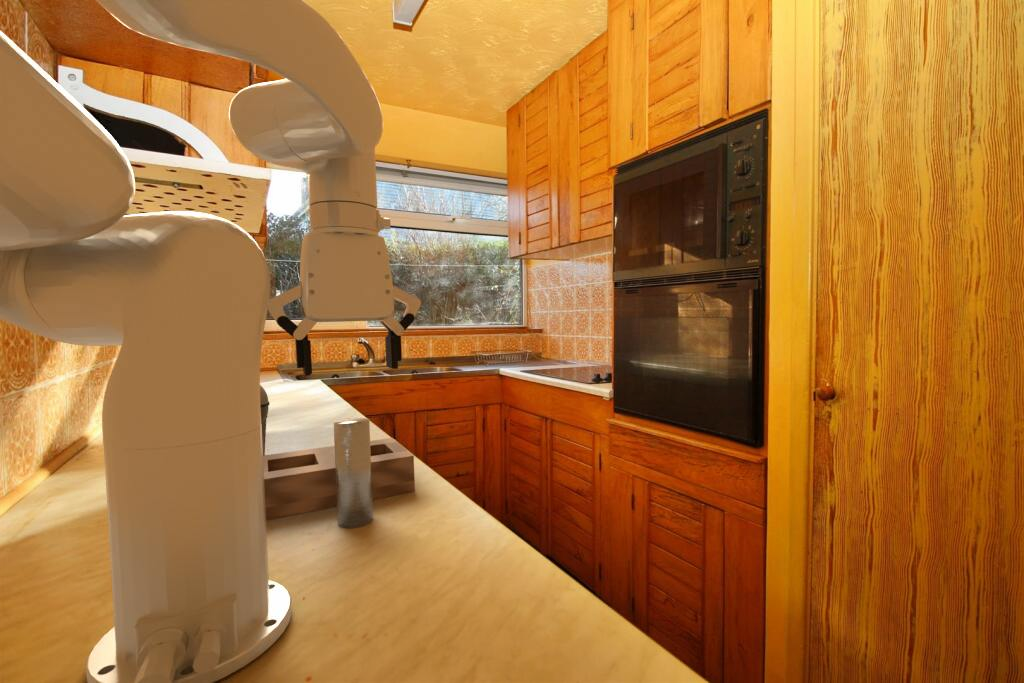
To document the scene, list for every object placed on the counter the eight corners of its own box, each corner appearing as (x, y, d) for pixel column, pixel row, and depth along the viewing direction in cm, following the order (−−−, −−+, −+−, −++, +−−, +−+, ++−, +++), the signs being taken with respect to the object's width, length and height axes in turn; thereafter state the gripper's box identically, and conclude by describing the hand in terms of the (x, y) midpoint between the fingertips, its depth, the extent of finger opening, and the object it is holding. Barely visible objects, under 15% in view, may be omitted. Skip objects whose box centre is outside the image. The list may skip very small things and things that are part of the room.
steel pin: (376, 523, 55) (372, 422, 55) (340, 531, 53) (336, 426, 53) (369, 511, 59) (365, 416, 58) (335, 518, 57) (331, 420, 56)
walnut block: (393, 468, 76) (392, 437, 76) (414, 490, 65) (413, 455, 65) (253, 491, 67) (251, 457, 66) (251, 522, 56) (249, 481, 56)
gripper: (409, 234, 62) (413, 363, 63) (261, 226, 54) (269, 373, 55) (426, 224, 55) (431, 368, 56) (260, 212, 47) (270, 381, 48)
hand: (351, 370), depth 56 cm, fingers open, 9 cm apart
